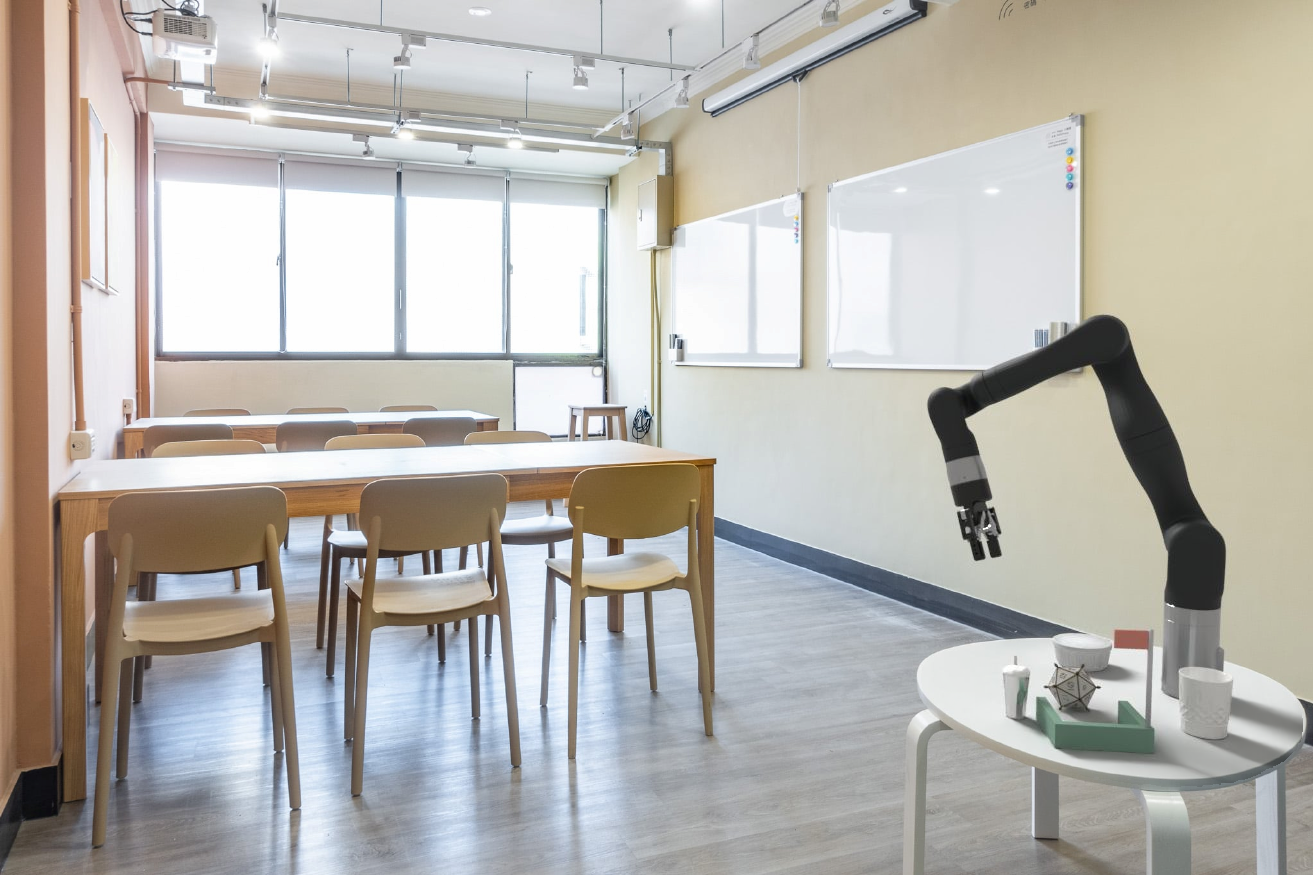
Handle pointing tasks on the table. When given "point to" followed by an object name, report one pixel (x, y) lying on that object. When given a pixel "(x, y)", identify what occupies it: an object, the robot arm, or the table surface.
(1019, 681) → the milkshake
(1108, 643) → the ramekin
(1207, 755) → the table surface
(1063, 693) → the game die
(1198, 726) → the white cup
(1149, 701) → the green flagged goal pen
